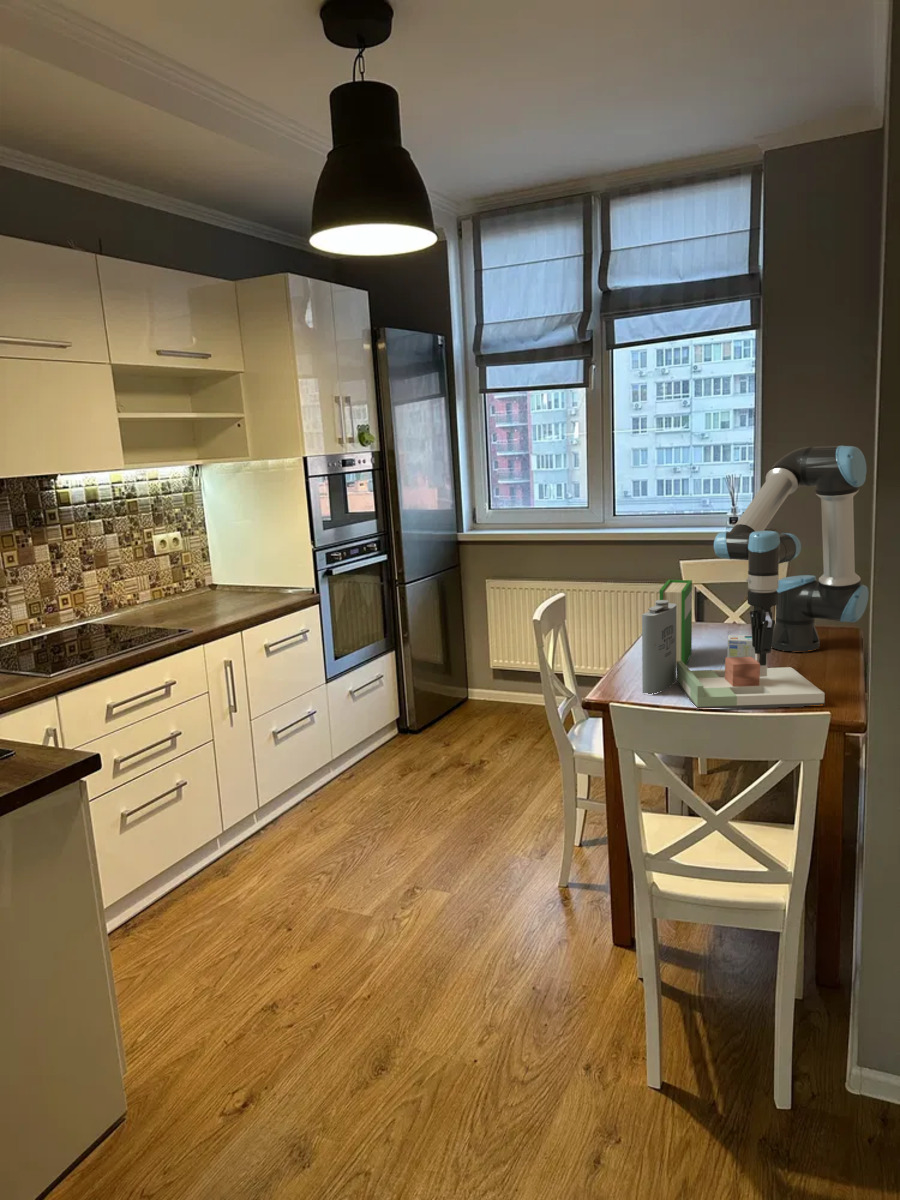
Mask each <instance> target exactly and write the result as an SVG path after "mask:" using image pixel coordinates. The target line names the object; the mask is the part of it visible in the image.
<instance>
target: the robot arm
mask: <svg viewBox="0 0 900 1200" xmlns="http://www.w3.org/2000/svg"><path fill="white" fill-rule="evenodd" d="M865 458H866V457H865V456H864V454H863V452H862V451H861V449H860V448H859V447H857V446H852V445H843V444H842V445H826V446H804V447H800V448H796V449H795V450H792V451H791V452H789V453H787V454H786V455H783V456H782V457H781V458H780V459H779V460H777V461H776V462H775V463H774V464H773V465H772V466H771V468H770V469H769V470H768V471H767V473H766V475H765V482H764V483H763V484H762V486H761V487H760V489H759V490H758V492H757V494H756V495H755V496H754V498H752V500H751V502H750V503H749V504H748V506H747V507H746V509H745V510H744V512H743V513H742V515H740V518H738V520H737V522H736V523H735V524H734V526H733V527H732V528H731V530H730V531H720V532H718V533H717V535H716V536H715V538H714V540H713V551H714V553H715V555H716V556H717V557H718V558H720V559H721V558H722V559H725V560H738V561H748V564H747V565H748V566H747V567H748V570H747V576H748V578H745V581H746V582H747V589H749V590H748V591H747V600H746V601H747V604H748V605H749V606H752V607H753V610H751V611H749V616H750V617H749V618H750V626H751V635H752V646H753V647H755V648H754V650H755V660H756V661H757V662H758V663H760V677H765V676H767V668H768V654H770V653H771V652H772V648H775V649H778V650H777V651H779V650H784V651H808V650H814V649H817V648H819V647H821V645H820V644H821V641H820V637H819V634H818V631H817V629H816V625H815V619H821V620H828V621H833V622H834V621H835V622H836V621H837V622H841V623H845V622H846V623H855V622H858V621H859V620H860V619H861V618H862V616H863V615H864V613H865V612H866V611H865V610H866V609H867V605H868V602H869V596H870V595H869V593H870V592H869V588H868V586H866V585H864V584H861V583H862V582H861V580H862V579H861V577H860V576H859V575H858V574H857V573H856V572H855V571H856V570H855V568H856V567H855V566H856V564H855V562H856V561H855V522H854V520H855V519H854V513H855V512H854V496H856V495H857V493H858V492H859V491H860V487H862V486H863V485H864V484H865V482H866V478H867V477H866V475H867V472H868V471H867V463H866V462H867V461H866V459H865ZM800 487H815V491H814V492H815V495H816V496H817V497H819V498H820V501H821V502H820V503H821V504H820V505H821V529H822V530H821V531H822V532H821V533H822V534H821V535H822V536H821V537H822V556H823V557H822V558H823V559H822V560H823V561H822V562H823V574H822V575H821V576H820V577H818V579H817V576H816V575H809V574H804V575H803V574H802V575H801V574H800V575H793V576H787V577H783V578H780V579H779V577H780V574H779V567H780V564H783V563H788V562H791V561H793V560H794V559H796V558H797V557H798V556H799V555H800V553H801V551H802V543H801V540H800V539H799V538H798V536H796V535H795V534H793V533H785V532H783V533H782V532H781V533H779V532H778V531H775V530H774V531H773V530H765V529H766V528H767V526H768V525H769V523H770V522H771V521H772V519H773V518H774V516H775V515H776V514H777V512H778V510H779V509H780V507H781V506H782V505H783V504H784V502H785V500H787V498H788V496H789V495H792V494H793V493H795V492H796V490H797V489H798V488H800ZM772 607H775V619H773V613H772V611H771V608H772ZM771 647H772V648H771ZM775 649H774V650H775ZM819 649H820V648H819ZM784 651H783V652H784Z"/></svg>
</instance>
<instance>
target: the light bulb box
mask: <svg viewBox="0 0 900 1200" xmlns="http://www.w3.org/2000/svg"><path fill="white" fill-rule="evenodd" d="M754 648H755V647H753V646H752V634H751V635H750V634H749V635H748V634H728V636H727V657H752V658H754V659H755V650H754Z"/></svg>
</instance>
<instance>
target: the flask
mask: <svg viewBox="0 0 900 1200" xmlns="http://www.w3.org/2000/svg"><path fill="white" fill-rule="evenodd" d="M654 604H655V605H654V606H651V607H649V608H648V611H646V612H645V613H642V614H641V625H642V626H641V628H642V631H641V634H642V635H641V636H642V637H641V639H642V641H641V642H642V643H641V645H642V646H641V649H642V650H641V651H642V652H641V655H642V656H641V657H642V658H641V661H642V663H641V669H642V676H641V677H642V694H643V693H648V694H652V693H653V694H654V693H657V692H660V691H662V692H664V691H663V690H665V689H666V690H667V688H668V689H669V688H670V686H671V687H672V686H673V685H674V684H675V683H677V665H676V604H673V603H669V601H667V600H660V599H657V600H655V601H654ZM666 690H665V691H666ZM660 693H661V692H660Z"/></svg>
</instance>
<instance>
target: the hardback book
mask: <svg viewBox="0 0 900 1200" xmlns="http://www.w3.org/2000/svg"><path fill="white" fill-rule="evenodd" d="M659 600H667V601H669V603H673V604H676V666H677V661H683V662H684V664H685V665H686V666H687V664H688V662H689V659H690V657H691V655H692V653H693V652H692V646H693V644H692V641H693V639H692V635H693V633H692V631H693V629H692V628H693V627H692V625H693V623H692V622H693V620H692V619H693V580H692V579H688V580H687V579H686V580H685V579H667V581H665V583H664V584H663V585H662V586H661V588H660V589H659Z"/></svg>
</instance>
